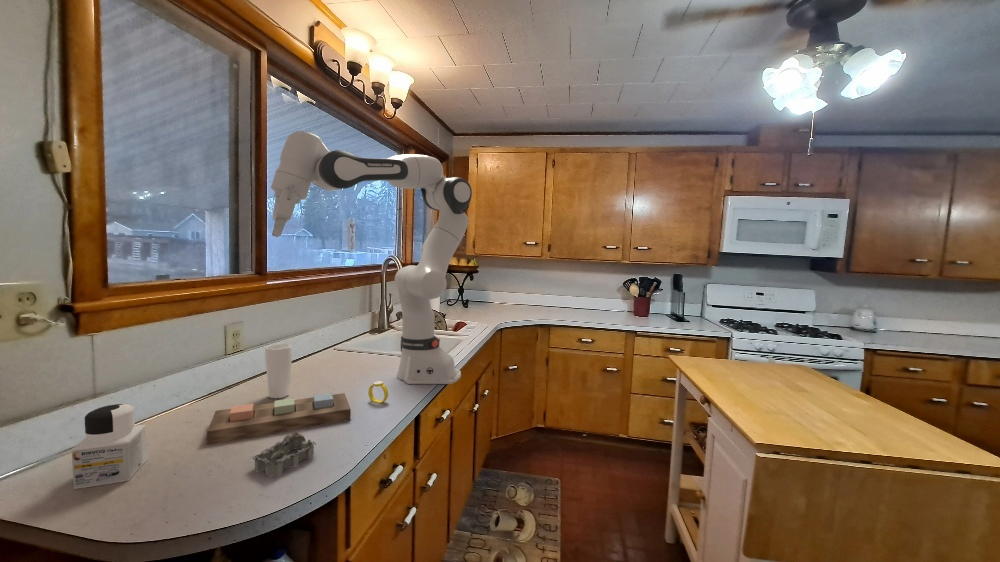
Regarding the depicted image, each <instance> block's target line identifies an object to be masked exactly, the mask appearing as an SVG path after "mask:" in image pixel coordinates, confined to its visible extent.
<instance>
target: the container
mask: <svg viewBox="0 0 1000 562" xmlns="http://www.w3.org/2000/svg"><path fill="white" fill-rule="evenodd" d="M146 427H147V426H146V424H138V425H137V424H136V425H135V408H134V406H132V405H131V404H126V403H125V404H124V403H123V404H122V403H119V404H110V405H109V404H108V405H105V406H102V407H98V408H96V409H93V410H91V411H90V412H88V413H87V414H86V415H85V416H84V432H85V433H84V435H85V438H84V439H82V440H81V441H80V442H79V443H78V444H77V445H74V446H73V447H72V448H71V461H72V462H71V463H72V465H71V466H72V481H73V485H72V486H73V489H74V490H78V489H85V488H92V487H97V486H105V485H112V484H116V483H123V482H128V481H130V479H132V477H134V475H135V474H136V473H137V472H138V471H139V469H140V468H141V467H142V466H143V465H144V464H145V462H146V461H147V459H148V458H147V457H148V456H147V433H146V432H147V431H146Z"/></svg>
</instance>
